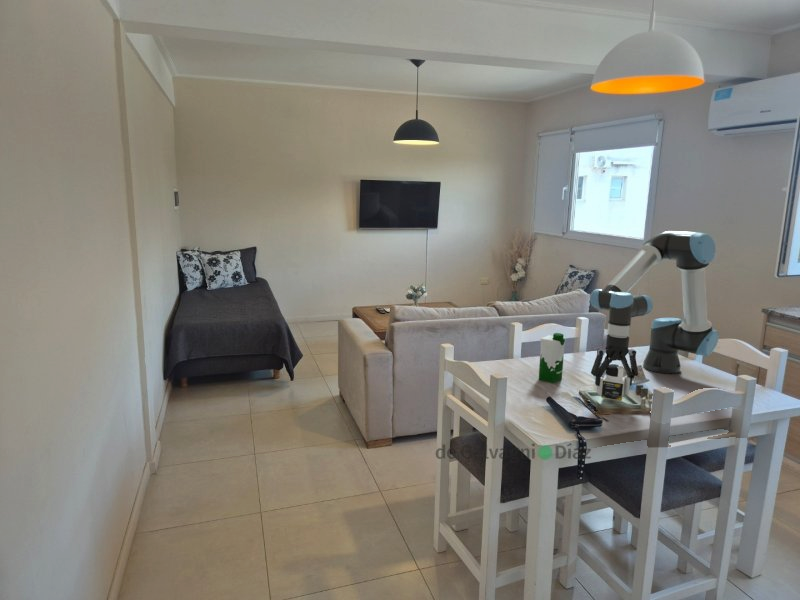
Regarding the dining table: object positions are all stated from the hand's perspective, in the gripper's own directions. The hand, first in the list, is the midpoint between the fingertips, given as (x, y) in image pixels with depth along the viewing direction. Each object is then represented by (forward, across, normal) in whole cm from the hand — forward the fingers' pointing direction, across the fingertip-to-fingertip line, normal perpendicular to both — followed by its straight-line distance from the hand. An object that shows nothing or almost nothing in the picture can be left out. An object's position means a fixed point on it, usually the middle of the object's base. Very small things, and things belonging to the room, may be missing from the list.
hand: (612, 393), depth 200 cm
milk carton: (+4, +14, -27) cm, 31 cm away
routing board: (+4, -6, -1) cm, 7 cm away
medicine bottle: (+1, 0, 0) cm, 1 cm away
